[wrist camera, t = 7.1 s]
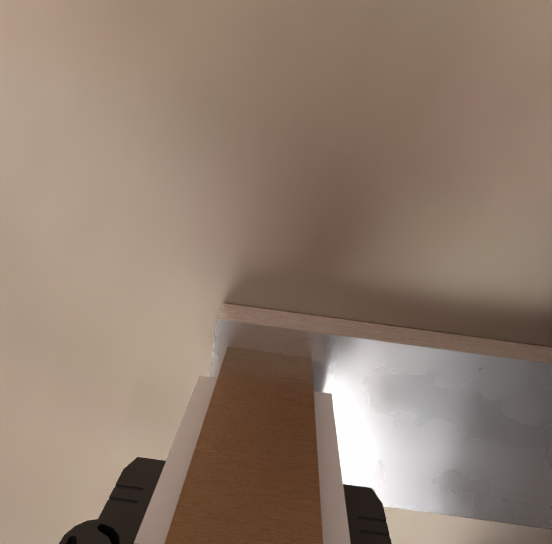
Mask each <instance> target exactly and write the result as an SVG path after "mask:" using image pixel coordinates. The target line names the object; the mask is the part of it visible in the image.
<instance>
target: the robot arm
mask: <svg viewBox="0 0 552 544" xmlns="http://www.w3.org/2000/svg"><path fill="white" fill-rule="evenodd" d="M216 381H217V378H213V377H205V376H199V379H198V381H197V384H196V387H195V389H194V392H193V394H192V397H191V399H190V402H189V404H188V407H187V409H186V412H185V414H184V417H183V420H182V422H181V425H180V427H179V430H178V432H177V435H176V437H175V440H174V442H173V445H172V447H171V450H170V452H169V455H168V458H167V460H166V461H162V460H155V459H148V458H140V457H137V458H136V459H135V460H134V461H133V462H131V463H130V464H129V465H128V466H127V467H126V468H124V469H123V471H122V473H121V475H120V477H119V479H118V481H117V483H116V486H115V488H114V489H113V491H112V493H111V495H110V497H109V500H108V501H107V503H106V505H105V507H104V509H103V511H102V513H101V514H100V516H99V518H98V519H96V520H89V521H86V522H84V523H81V524H79V525H77V526H75V527H74V528H72V529H71V530H70V531H69V532H67V533H66V534H65V535H64V537H63V538H62V540H61V541H60V543H59V544H164V543H165V540H166V537H167V534H168V531H169V528H170V525H171V521H172V518H173V515H174V512H175V509H176V506H177V503H178V500H179V496H180V493H181V490H182V487H183V484H184V481H185V478H186V475H187V471H188V468H189V465H190V462H191V459H192V456H193V453H194V450H195V446H196V443H197V440H198V437H199V434H200V431H201V428H202V425H203V422H204V418H205V415H206V412H207V409H208V406H209V403H210V400H211V397H212V393H213V390H214V387H215V384H216ZM314 404H315V421H316V437H317V453H318V469H319V485H320V502H321V518H322V534H323V544H391V539H390V537H389V531H388V526H387V523H386V517H385V513H384V508H383V504H382V502H381V501H380V499H379V498H378V496H377V495H376V493H375V492H374V490H373V489H372V488H370V487H362V486H355V485H348V484H343V480H342V472H341V464H340V456H339V448H338V440H337V432H336V424H335V416H334V408H333V400H332V394H331V393H324V392H316V391H314Z"/></svg>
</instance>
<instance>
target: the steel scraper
mask: <svg viewBox="0 0 552 544" xmlns="http://www.w3.org/2000/svg"><path fill="white" fill-rule="evenodd" d="M211 377H213V378H217V381H216V384H215V387H214V390H213V393H212V397H211V400H210V403H209V406H208V409H207V412H206V415H205V418H204V422H203V425H202V428H201V431H200V434H199V437H198V440H197V443H196V446H195V450H194V453H193V456H192V459H191V462H190V465H189V468H188V471H187V475H186V478H185V481H184V484H183V487H182V490H181V493H180V496H179V500H178V503H177V506H176V509H175V512H174V515H173V518H172V521H171V525H170V528H169V531H168V534H167V537H166V540H165V543H164V544H323V534H322V518H321V502H320V485H319V469H318V453H317V437H316V421H315V404H314V391H316V392H324V393H331V394H332V400H333V408H334V416H335V424H336V432H337V440H338V448H339V456H340V464H341V472H342V480H343V484H348V485H355V486H362V487H370V488H372V489H373V490H374V492H375V493H376V495H377V496H378V498H379V499H380V501H381V502H382V504H383V506H385V507H392V508H399V509H407V510H414V511H421V512H429V513H436V514H443V515H451V516H458V517H465V518H473V519H480V520H487V521H495V522H502V523H509V524H517V525H524V526H531V527H539V528H546V529H552V347H545V346H538V345H530V344H523V343H516V342H508V341H501V340H493V339H486V338H478V337H471V336H464V335H456V334H449V333H441V332H434V331H426V330H419V329H412V328H404V327H397V326H389V325H382V324H374V323H367V322H360V321H352V320H345V319H337V318H330V317H322V316H315V315H308V314H300V313H293V312H285V311H278V310H270V309H263V308H256V307H248V306H241V305H233V304H226V303H222V306H221V308H220V310H219V313H218V315H217V317H216V323H215V334H214V345H213V355H212V366H211Z"/></svg>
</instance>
